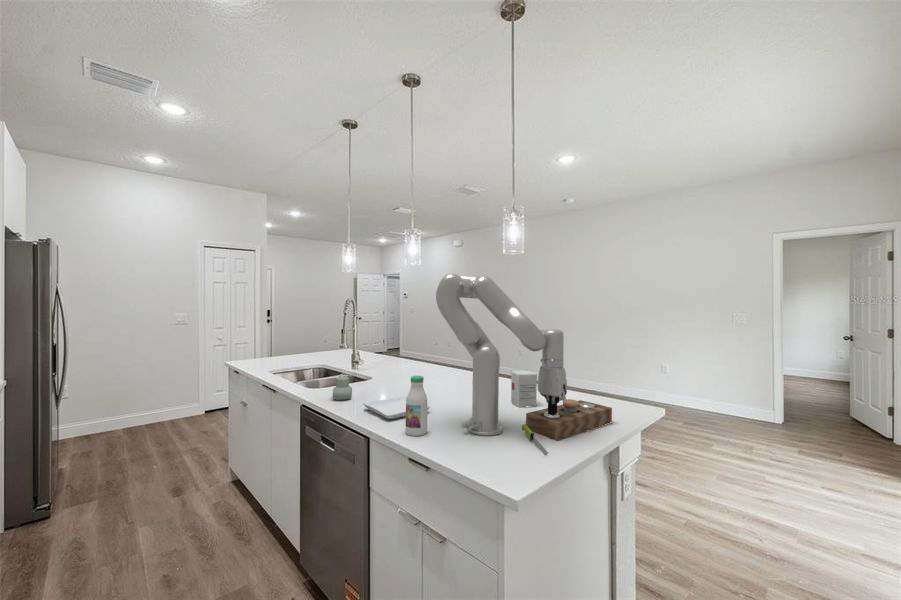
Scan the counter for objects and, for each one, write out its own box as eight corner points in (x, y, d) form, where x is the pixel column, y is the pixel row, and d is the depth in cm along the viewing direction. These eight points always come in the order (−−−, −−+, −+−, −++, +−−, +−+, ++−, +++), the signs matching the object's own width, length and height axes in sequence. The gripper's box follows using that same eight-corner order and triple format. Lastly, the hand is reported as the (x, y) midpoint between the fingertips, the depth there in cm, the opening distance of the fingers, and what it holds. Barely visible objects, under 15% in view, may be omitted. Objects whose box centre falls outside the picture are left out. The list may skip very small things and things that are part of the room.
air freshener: (350, 401, 178) (350, 380, 178) (332, 402, 176) (332, 380, 176) (352, 395, 188) (352, 375, 188) (334, 396, 187) (334, 375, 187)
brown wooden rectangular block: (557, 440, 130) (557, 423, 130) (525, 429, 142) (526, 413, 142) (611, 422, 151) (611, 407, 151) (580, 414, 162) (580, 400, 162)
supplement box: (510, 402, 179) (510, 370, 179) (528, 401, 181) (528, 370, 181) (518, 408, 170) (518, 374, 170) (536, 407, 172) (537, 373, 172)
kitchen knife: (550, 462, 116) (550, 452, 116) (546, 462, 116) (546, 452, 115) (524, 431, 138) (525, 423, 138) (521, 431, 138) (521, 423, 137)
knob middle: (572, 420, 142) (572, 403, 142) (559, 416, 147) (559, 400, 147) (581, 417, 146) (581, 401, 146) (568, 413, 150) (568, 398, 150)
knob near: (553, 434, 136) (553, 417, 136) (540, 429, 140) (540, 413, 140) (562, 431, 139) (563, 414, 139) (550, 426, 143) (550, 410, 143)
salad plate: (431, 413, 161) (431, 405, 161) (387, 423, 147) (388, 414, 147) (403, 403, 177) (404, 395, 177) (362, 411, 164) (362, 403, 164)
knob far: (589, 422, 149) (589, 407, 149) (576, 419, 153) (576, 404, 153) (597, 420, 152) (597, 405, 152) (585, 416, 157) (585, 402, 157)
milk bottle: (417, 427, 142) (418, 373, 142) (431, 433, 136) (432, 376, 137) (401, 432, 137) (401, 376, 137) (414, 438, 131) (415, 379, 131)
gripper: (530, 361, 143) (529, 410, 143) (563, 367, 131) (563, 421, 131) (543, 360, 148) (543, 407, 148) (576, 365, 136) (576, 417, 136)
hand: (552, 413), depth 140 cm, fingers closed
